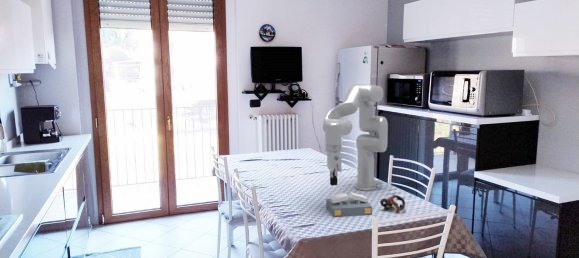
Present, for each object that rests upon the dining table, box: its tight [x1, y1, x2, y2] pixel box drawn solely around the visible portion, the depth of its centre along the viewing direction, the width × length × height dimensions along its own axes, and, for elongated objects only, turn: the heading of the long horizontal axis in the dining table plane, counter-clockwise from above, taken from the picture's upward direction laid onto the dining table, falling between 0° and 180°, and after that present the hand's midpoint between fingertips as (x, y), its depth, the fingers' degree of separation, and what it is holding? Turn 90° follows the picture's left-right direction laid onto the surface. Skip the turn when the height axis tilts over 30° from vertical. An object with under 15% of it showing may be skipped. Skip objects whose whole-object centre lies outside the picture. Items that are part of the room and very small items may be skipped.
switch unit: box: [325, 197, 373, 218], centre depth 191 cm, size 19×14×5 cm
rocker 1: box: [329, 192, 349, 203], centre depth 190 cm, size 8×4×2 cm, turn 98°
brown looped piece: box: [379, 194, 406, 214], centre depth 191 cm, size 12×10×8 cm
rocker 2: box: [348, 191, 368, 203], centre depth 191 cm, size 8×4×2 cm, turn 99°
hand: (333, 184), depth 189 cm, fingers closed
